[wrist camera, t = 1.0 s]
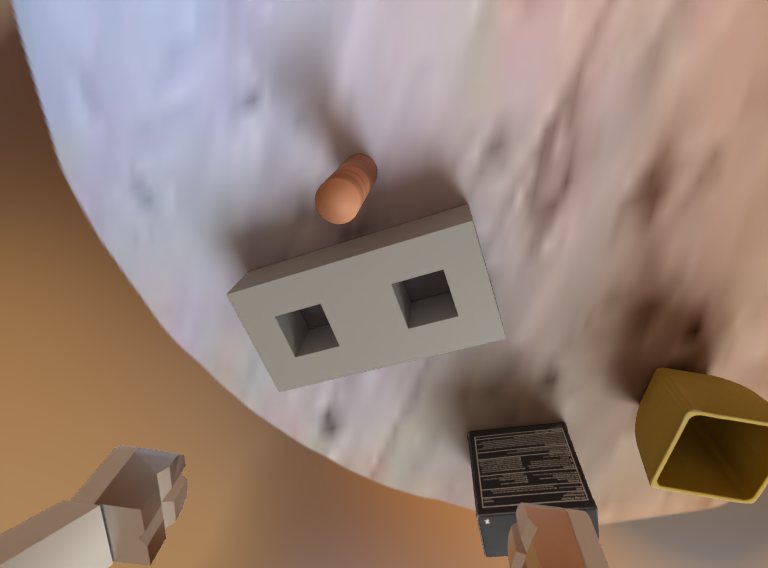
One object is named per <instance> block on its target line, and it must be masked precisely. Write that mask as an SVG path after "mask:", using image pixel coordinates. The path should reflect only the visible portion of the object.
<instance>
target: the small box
mask: <svg viewBox="0 0 768 568" xmlns="http://www.w3.org/2000/svg"><path fill="white" fill-rule="evenodd" d="M467 438H468V441H469V449H470V459H471V468H472V478H473V487H474V496H475V505H476V517H477V520H478V525H479V530H480V535H481V540H482V545H483V549H484V554H485V556H486V557H498V556H508V549H507V547H508V536H509V532H510V529H511V526H512V525H513V524H515V523H516V522H517V517H516V510H517V508H518V505H519V504H520V503H521V502H523V503H530V504H538V505H546V506H554V507H561V508H566V509H573V510H581V511H586V512H587V514H588V515H589V516H590V519H591V521H592V524H593V526H594V529H595V532H596V534H597V537H598V539H599V530H598V510H597V506H596V504H595V501H594V499H593V498H592V495H591V492H590V490H589V487H588V485H587V482H586V479H585V476H584V474H583V471H582V468H581V465H580V463H579V460H578V457H577V455H576V452H575V450H574V447H573V444H572V441H571V439H570V436H569V434H568V430H567V426H566V423H553V424H543V425H533V426H524V427H514V428H504V429H494V430H484V431H475V432H469V433H468V435H467Z"/></svg>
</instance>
